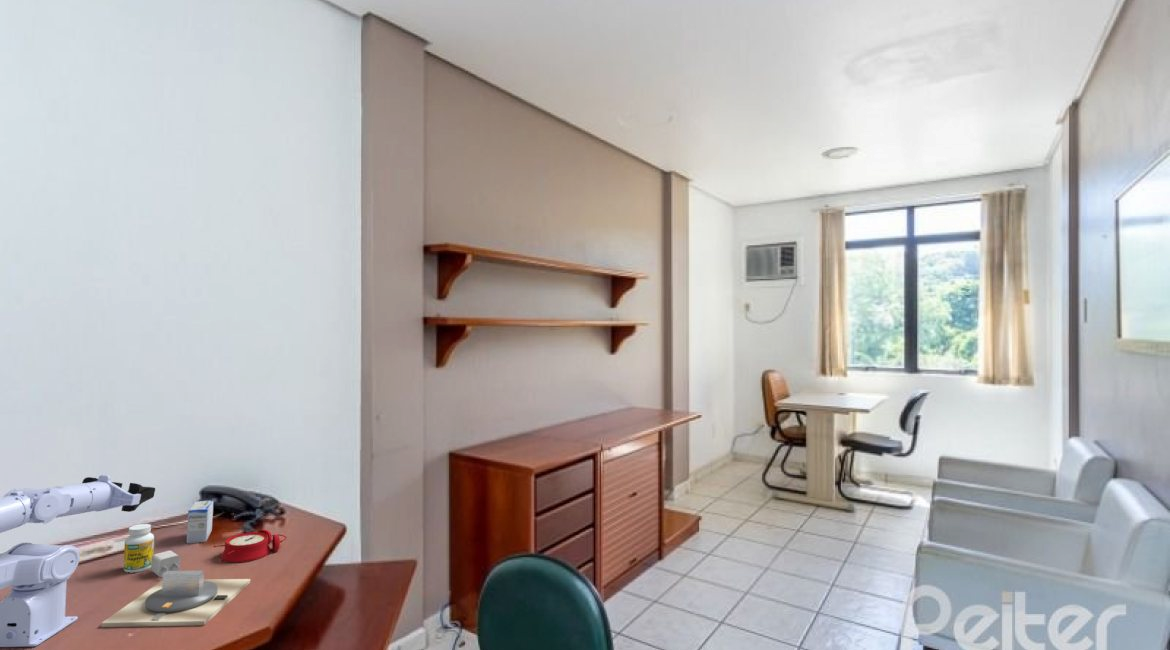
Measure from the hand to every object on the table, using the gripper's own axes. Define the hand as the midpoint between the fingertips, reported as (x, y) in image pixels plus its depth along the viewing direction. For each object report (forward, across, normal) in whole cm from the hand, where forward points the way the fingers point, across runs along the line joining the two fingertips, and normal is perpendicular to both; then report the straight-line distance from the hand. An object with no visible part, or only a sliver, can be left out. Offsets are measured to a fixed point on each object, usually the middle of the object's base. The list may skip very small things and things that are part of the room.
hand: (136, 490), depth 124 cm
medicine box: (+28, +3, +16) cm, 33 cm away
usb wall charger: (+8, -6, +19) cm, 21 cm away
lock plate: (-4, -19, +20) cm, 27 cm away
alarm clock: (+22, -16, +16) cm, 31 cm away
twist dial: (-4, -19, +20) cm, 27 cm away
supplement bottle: (+10, +3, +19) cm, 22 cm away
